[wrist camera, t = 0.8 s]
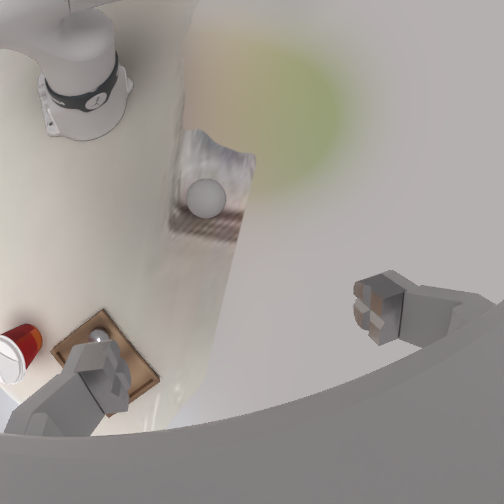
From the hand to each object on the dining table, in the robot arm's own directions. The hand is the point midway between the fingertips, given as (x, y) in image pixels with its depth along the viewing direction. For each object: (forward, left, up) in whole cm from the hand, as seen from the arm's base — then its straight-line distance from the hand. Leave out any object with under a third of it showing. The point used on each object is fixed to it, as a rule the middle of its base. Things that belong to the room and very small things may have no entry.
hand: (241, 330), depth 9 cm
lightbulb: (-5, +12, -44) cm, 46 cm away
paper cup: (-4, -28, -44) cm, 53 cm away
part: (+3, -16, -43) cm, 46 cm away
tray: (+8, -19, -44) cm, 48 cm away
